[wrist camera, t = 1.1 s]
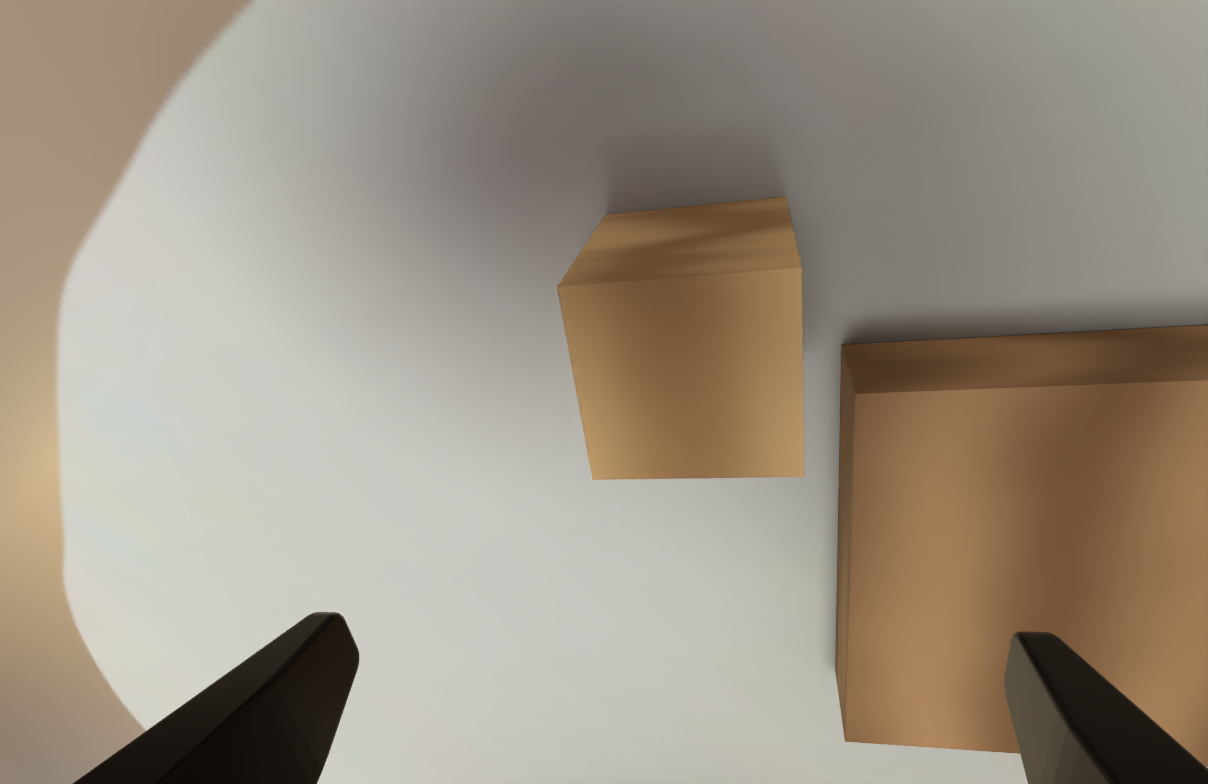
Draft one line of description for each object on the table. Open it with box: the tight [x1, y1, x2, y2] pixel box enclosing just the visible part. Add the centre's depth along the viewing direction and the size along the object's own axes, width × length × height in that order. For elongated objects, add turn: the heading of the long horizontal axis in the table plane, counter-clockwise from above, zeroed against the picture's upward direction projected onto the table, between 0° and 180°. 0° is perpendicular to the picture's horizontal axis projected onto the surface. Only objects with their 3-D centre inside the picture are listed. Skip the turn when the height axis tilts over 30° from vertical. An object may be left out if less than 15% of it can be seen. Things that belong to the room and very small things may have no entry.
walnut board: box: [835, 325, 1208, 766], centre depth 21 cm, size 12×14×3 cm
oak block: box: [557, 196, 804, 480], centre depth 18 cm, size 5×5×6 cm
